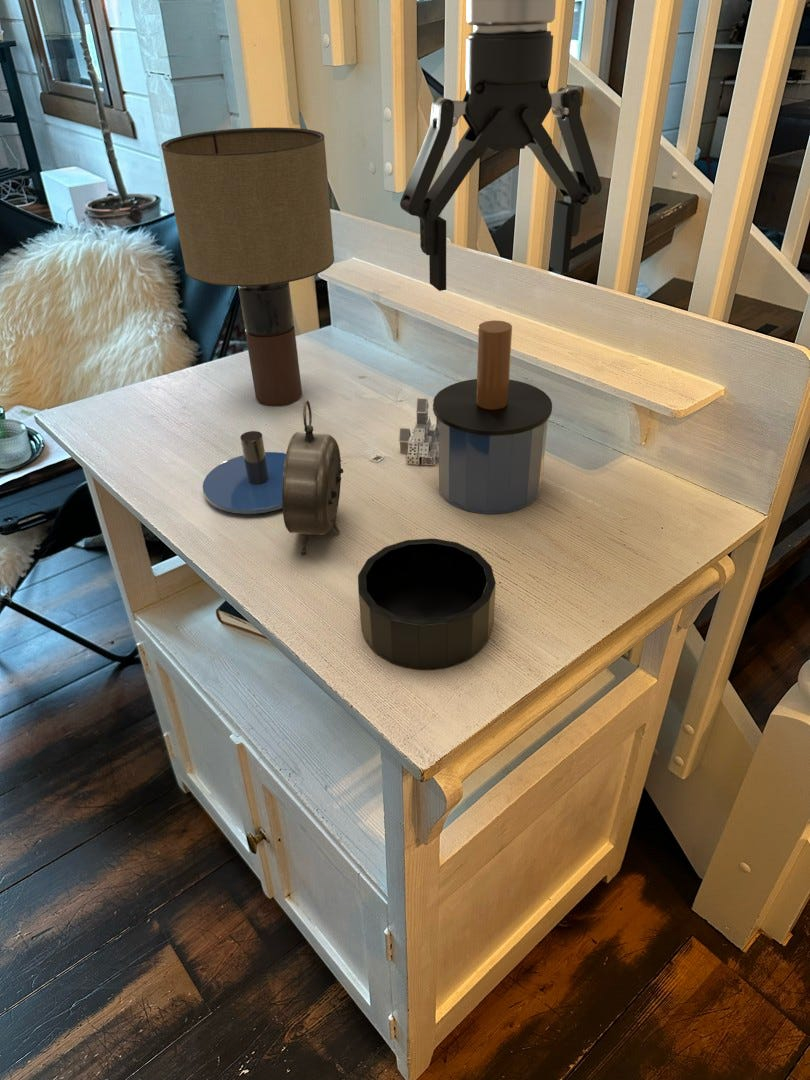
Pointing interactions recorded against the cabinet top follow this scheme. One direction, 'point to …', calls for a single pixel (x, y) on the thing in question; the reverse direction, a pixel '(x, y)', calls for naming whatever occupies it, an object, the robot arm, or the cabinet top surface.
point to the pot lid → (247, 479)
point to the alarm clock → (311, 482)
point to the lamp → (255, 232)
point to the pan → (426, 603)
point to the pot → (490, 469)
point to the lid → (492, 392)
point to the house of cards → (418, 439)
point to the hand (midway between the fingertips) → (499, 278)
